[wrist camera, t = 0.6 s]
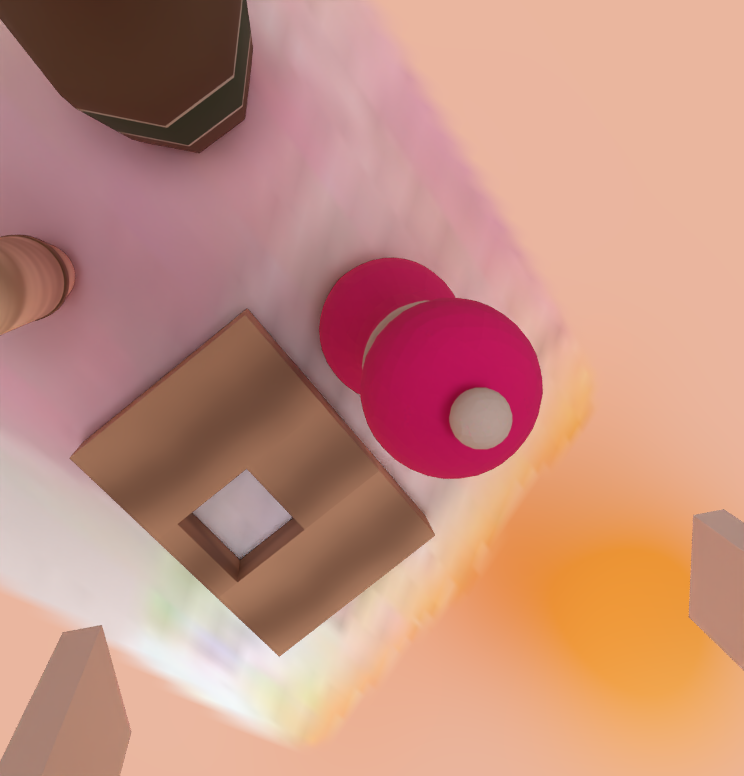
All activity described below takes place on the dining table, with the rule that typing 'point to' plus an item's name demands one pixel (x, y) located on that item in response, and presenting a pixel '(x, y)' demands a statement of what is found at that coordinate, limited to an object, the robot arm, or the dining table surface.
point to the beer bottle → (143, 63)
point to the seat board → (271, 468)
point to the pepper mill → (431, 368)
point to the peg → (31, 280)
